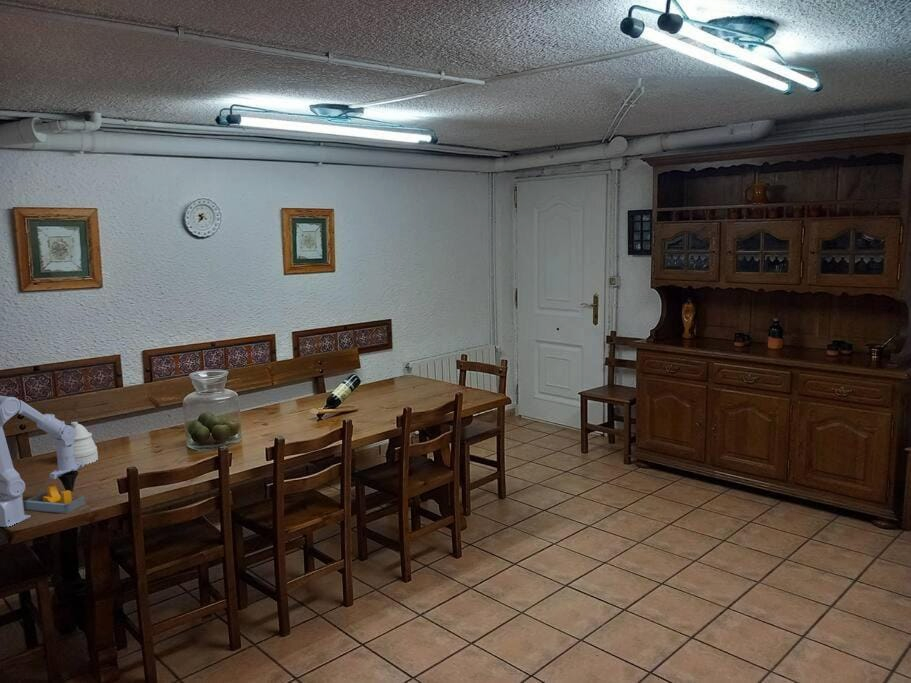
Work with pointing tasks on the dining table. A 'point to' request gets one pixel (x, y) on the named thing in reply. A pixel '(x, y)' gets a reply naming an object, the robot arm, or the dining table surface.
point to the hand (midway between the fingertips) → (69, 491)
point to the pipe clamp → (57, 495)
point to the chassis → (52, 504)
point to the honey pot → (84, 445)
